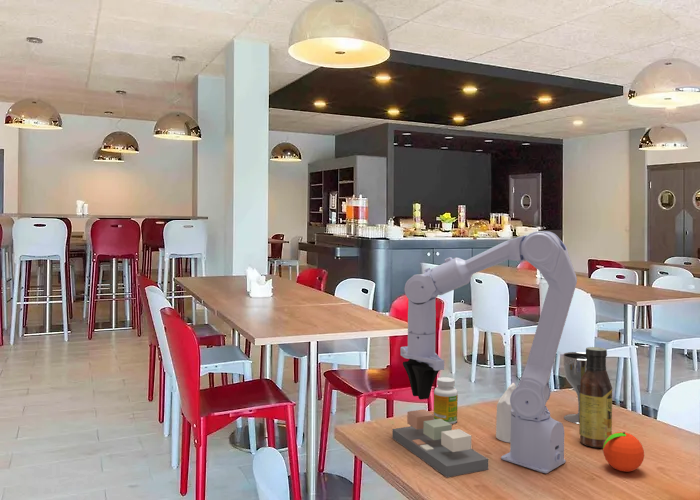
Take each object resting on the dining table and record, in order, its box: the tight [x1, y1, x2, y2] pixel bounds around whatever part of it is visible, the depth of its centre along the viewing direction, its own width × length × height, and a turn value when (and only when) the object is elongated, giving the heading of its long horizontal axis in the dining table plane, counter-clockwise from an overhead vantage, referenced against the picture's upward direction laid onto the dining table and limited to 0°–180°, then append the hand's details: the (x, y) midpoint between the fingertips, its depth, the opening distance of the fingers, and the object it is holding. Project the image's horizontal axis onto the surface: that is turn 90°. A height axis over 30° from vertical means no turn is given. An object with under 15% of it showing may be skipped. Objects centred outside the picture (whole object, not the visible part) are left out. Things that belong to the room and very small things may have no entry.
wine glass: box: [562, 351, 587, 425], centre depth 138 cm, size 8×8×15 cm
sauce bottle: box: [578, 346, 613, 449], centre depth 122 cm, size 7×6×20 cm
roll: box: [495, 382, 517, 444], centre depth 125 cm, size 6×12×6 cm
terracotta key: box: [406, 409, 434, 429], centre depth 122 cm, size 4×4×2 cm
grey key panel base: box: [391, 425, 489, 478], centre depth 117 cm, size 21×9×2 cm, turn 23°
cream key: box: [441, 428, 472, 452], centre depth 110 cm, size 4×4×2 cm
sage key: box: [423, 419, 453, 440], centre depth 116 cm, size 4×4×2 cm
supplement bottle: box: [433, 376, 459, 425], centre depth 136 cm, size 5×5×10 cm
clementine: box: [602, 431, 645, 473], centre depth 109 cm, size 8×7×7 cm
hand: (420, 397), depth 122 cm, fingers closed
